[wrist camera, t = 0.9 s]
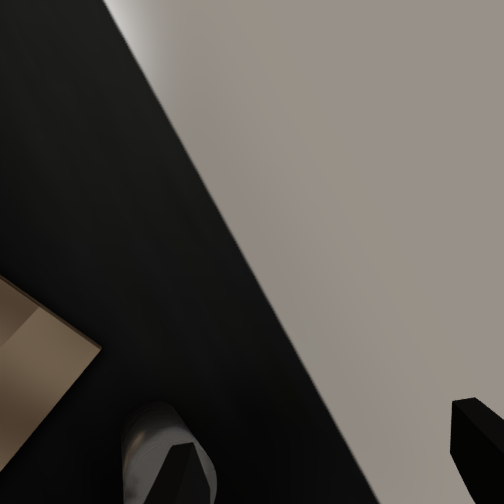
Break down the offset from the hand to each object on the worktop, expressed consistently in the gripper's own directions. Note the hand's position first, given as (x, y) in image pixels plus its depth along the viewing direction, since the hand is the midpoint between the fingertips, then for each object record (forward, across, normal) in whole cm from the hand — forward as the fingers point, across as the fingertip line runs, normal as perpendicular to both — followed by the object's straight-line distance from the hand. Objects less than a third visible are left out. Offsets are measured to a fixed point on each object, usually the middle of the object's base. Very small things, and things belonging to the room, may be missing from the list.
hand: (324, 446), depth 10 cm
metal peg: (+8, +9, +6) cm, 13 cm away
